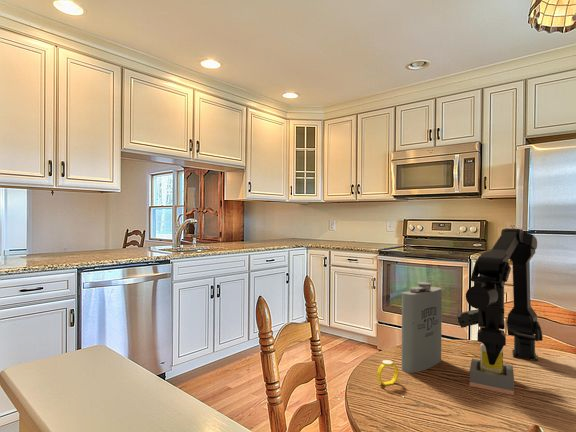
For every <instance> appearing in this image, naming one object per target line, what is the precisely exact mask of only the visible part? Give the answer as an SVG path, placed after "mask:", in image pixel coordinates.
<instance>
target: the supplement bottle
mask: <svg viewBox="0 0 576 432" xmlns="http://www.w3.org/2000/svg"><path fill="white" fill-rule="evenodd" d="M479 349H480V350H479V353H480V354H479V355H480V359H479V360H480V371H485V372H491V373H496V374H501V375H503V364H504V348H502V350H501V352H500V354H499V356H498V358H497V360H496V362H495V364H494V365H490V364H489V361H488V356H487V352H486V348H485V345H484V344H483V343H481V344H480V347H479Z"/></svg>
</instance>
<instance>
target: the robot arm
mask: <svg viewBox="0 0 576 432" xmlns="http://www.w3.org/2000/svg"><path fill="white" fill-rule="evenodd" d="M537 248H538V239H537V237H535V235H534V234H533V233H532V234H531V233H529V232H526V231H523V229H520V228H507V227H506V228H502V229H501V233H500V236H499V237H498V239H497V240H496V242H495V243H494V245H493V247H492V248H491V250H489V251H486V252H482V254H480V256H478V258H477V259H476V261H475V262H474V266H473V269H472V273H471V277H470V281H471V282H473V286H471V287H469V288H468V289H467V290H466V293H465V300H466V302H467V303H468V304H469V306H470V307H471V308H473V309H471V310H467V311H466V310H465V311H461V312H459V313H457V315H456V317H457V323H458V324H459V326H460V328H462V329H463V328H467V327H469V326H475V325H477V326H478V327H480V328H479V329H478V330H477V335H476V338H477V342H479V343H481V344H484V345H485V348H486V352H487V356H488V361H489V364H490V365H494V364H495V362H496V360H497V358H498V356H499V354H500V352H501V350H502V349H504V346H506V345H507V344H506V343H507V338H506V337H507V336H506V333H505V329H507V330H506V331H507V335H508V336H511V337H513V341H514V342H513V349H511V350H512V357H513V358H518V359H525V360H528V361H529V360H531V361H538V357H537V353H536V342H540V341H541V342H542V341H543V340H544V339H543V336H544V335H543V331H542V328H541V324H540V322H539V321H538V315H537V313H536V311H535V310H534V309H533V307H532V306H531V305H532V304H531V274H530V273H531V271H530V270H531V269H530V268H531V267H530V261H531V260H532V258H533V257H534V255H535V254H536V250H537ZM509 260H510V261H511V263H512V264H511V265H512V268H511V266H510V262H509ZM511 271H512V291H513V296H512V297H513V307H512V309H511V310H510V311H508V314H507V317H506V321H505V284H506V283H507V282H508V280H509V278H510V277H509V276H510V274H511ZM505 326H506V327H505Z"/></svg>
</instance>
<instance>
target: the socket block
mask: <svg viewBox="0 0 576 432" xmlns="http://www.w3.org/2000/svg"><path fill="white" fill-rule="evenodd" d="M469 387H474V388H477V389H478V388H479V389H484V390H489V391H493V392H498V393H502V394H507V395H512V396H514V395H515V374H514V366H513V364H506V363H503V375H501V374H496V373H491V372H485V371H480V359H477V358H473V357H472V358H471V362H470V366H469Z"/></svg>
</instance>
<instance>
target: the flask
mask: <svg viewBox="0 0 576 432" xmlns="http://www.w3.org/2000/svg"><path fill="white" fill-rule="evenodd" d="M417 284H418V285H417V286H412V287H408V288H409V289H408V290H409V291H402V292H401V368H400V369H401V372H403V373H406V374H416V373H419V372H423V371H425V370H428V369H431V368H433V367H435V366H437V365H438V364H439V363H441V362H442V317H443V316H442V313H443V312H442V310H443V309H442V307H443V306H442V303H443V301H442V300H443V299H442V298H443V297H442V295H443V293H442V292H443V291H442V290H443V288H441V287H437V286H432V283H431V282H426V281H418V282H417Z"/></svg>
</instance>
